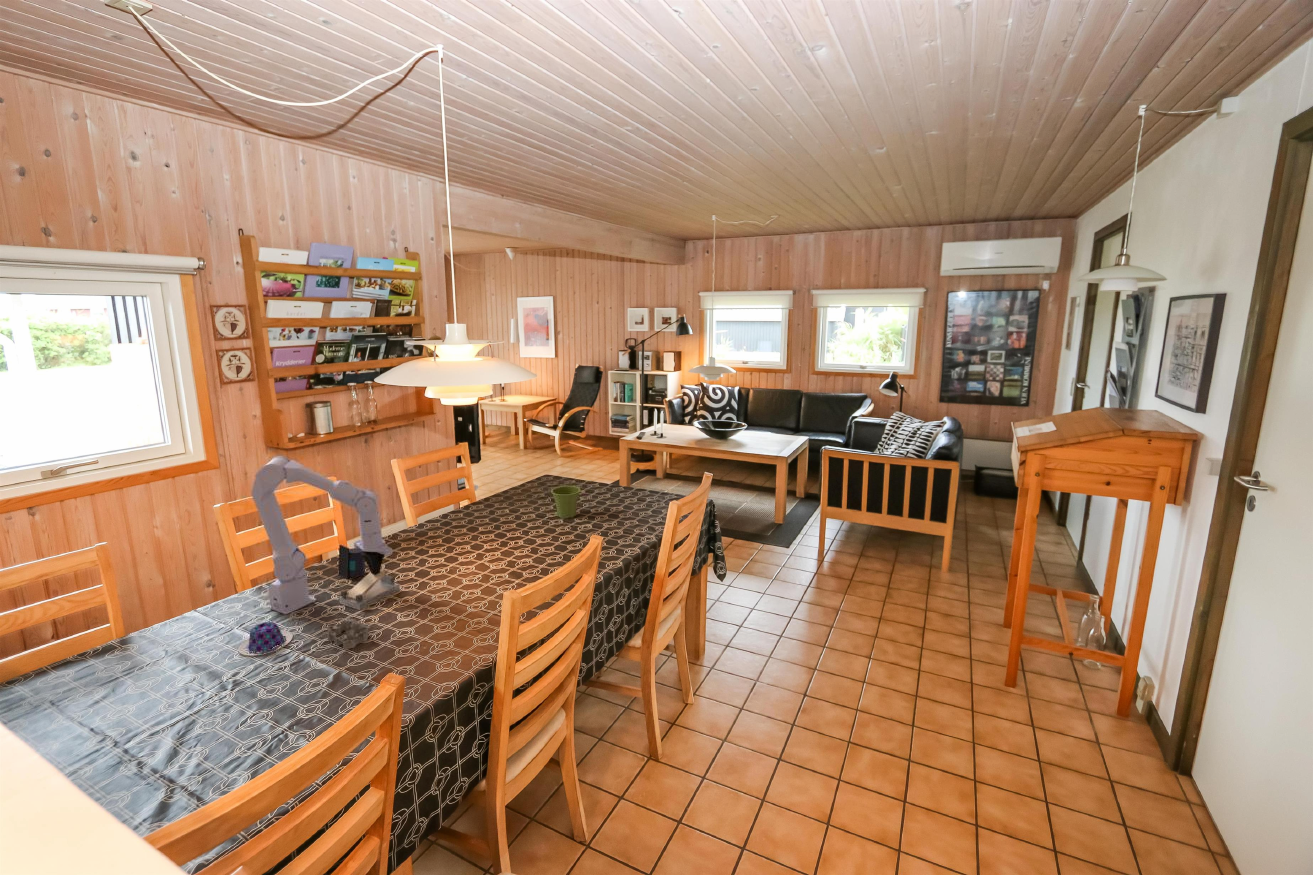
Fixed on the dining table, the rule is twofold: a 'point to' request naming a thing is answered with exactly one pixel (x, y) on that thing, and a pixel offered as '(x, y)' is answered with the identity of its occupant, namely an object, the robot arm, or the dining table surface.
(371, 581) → the latch bar
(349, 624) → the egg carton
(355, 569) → the speaker
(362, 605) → the block
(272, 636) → the purple beige domed disc
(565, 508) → the plant pot
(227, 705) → the dining table surface
